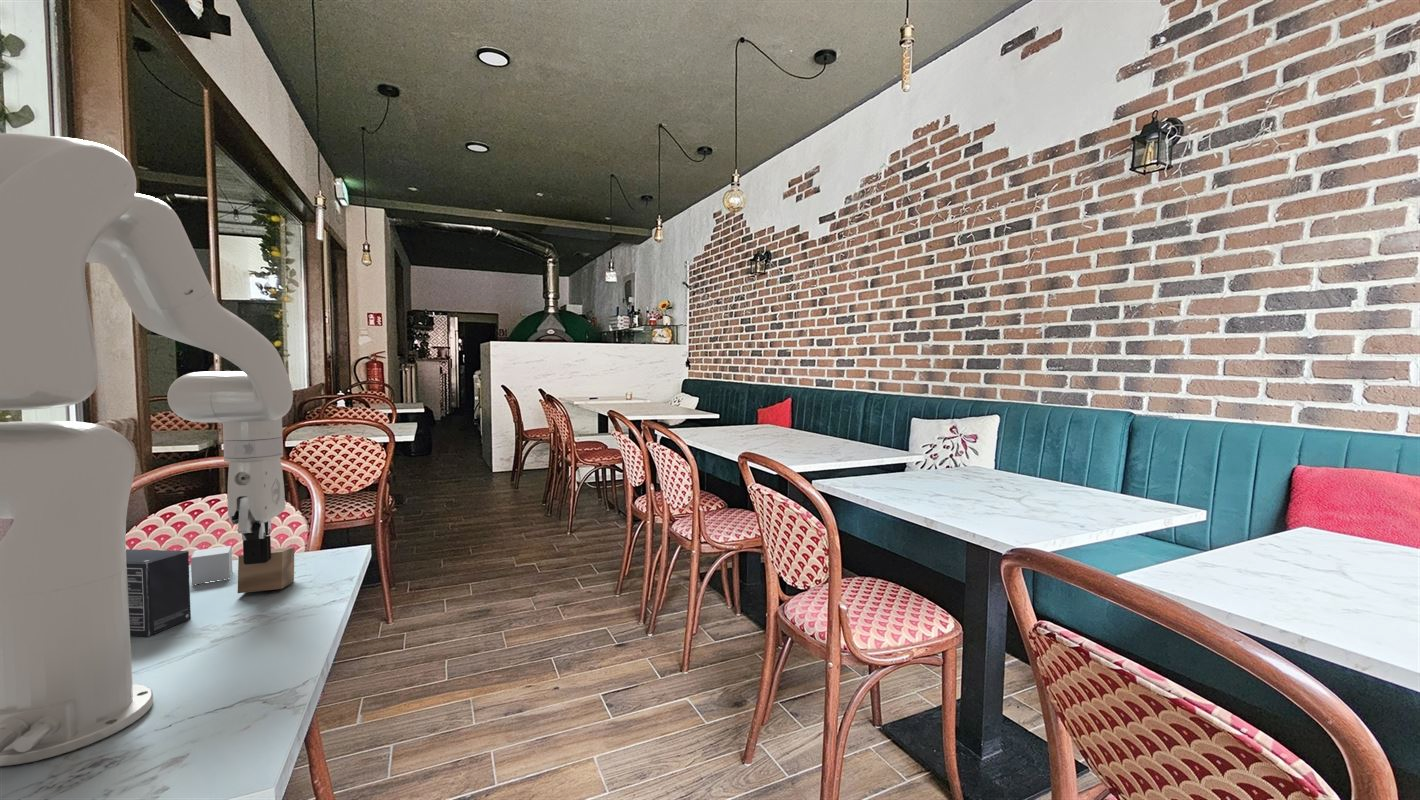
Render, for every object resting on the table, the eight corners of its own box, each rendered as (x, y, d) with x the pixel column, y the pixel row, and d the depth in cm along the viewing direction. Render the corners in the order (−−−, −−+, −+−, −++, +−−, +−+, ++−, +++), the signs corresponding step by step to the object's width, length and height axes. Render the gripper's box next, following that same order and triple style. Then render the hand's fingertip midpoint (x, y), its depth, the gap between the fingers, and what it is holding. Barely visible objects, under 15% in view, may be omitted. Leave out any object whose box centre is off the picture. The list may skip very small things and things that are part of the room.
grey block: (229, 580, 102) (228, 552, 102) (191, 586, 99) (190, 557, 99) (232, 572, 106) (231, 545, 106) (196, 578, 103) (195, 550, 103)
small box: (195, 618, 86) (192, 549, 86) (149, 638, 80) (145, 563, 79) (131, 615, 87) (128, 546, 87) (81, 634, 81) (77, 560, 80)
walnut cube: (281, 588, 96) (282, 551, 96) (237, 593, 94) (238, 555, 94) (293, 582, 101) (294, 547, 102) (252, 586, 99) (253, 550, 100)
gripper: (264, 454, 88) (268, 574, 88) (296, 443, 102) (299, 547, 102) (202, 456, 85) (207, 580, 86) (244, 445, 99) (248, 551, 100)
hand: (257, 561), depth 94 cm, fingers closed
